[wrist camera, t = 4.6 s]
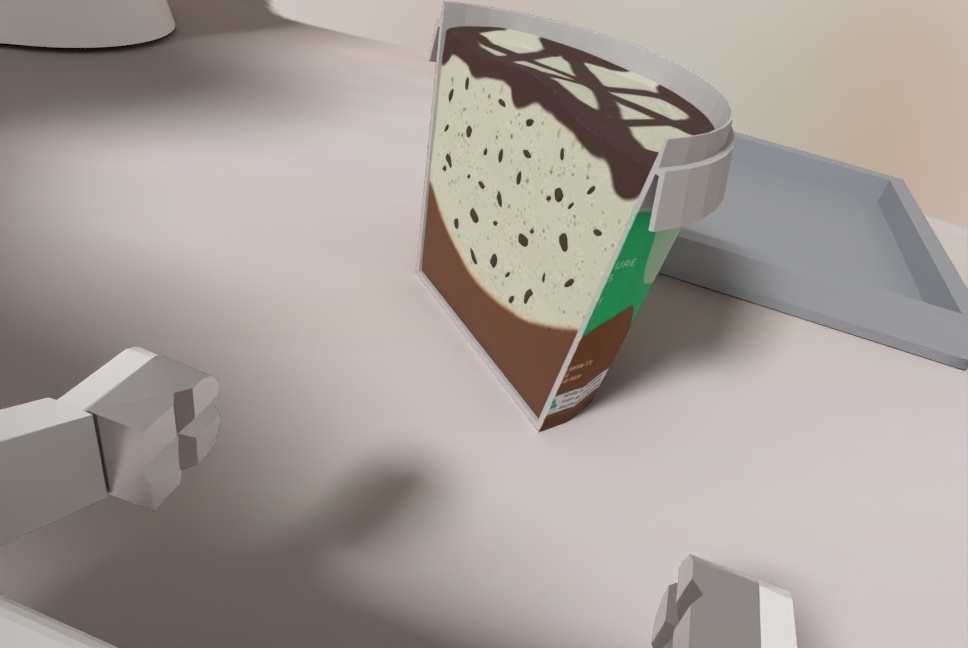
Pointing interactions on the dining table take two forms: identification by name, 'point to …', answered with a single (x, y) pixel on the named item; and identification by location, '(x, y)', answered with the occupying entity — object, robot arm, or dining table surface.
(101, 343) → the dining table surface
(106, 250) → the dining table surface
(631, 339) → the dining table surface
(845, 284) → the tray
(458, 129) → the food container
